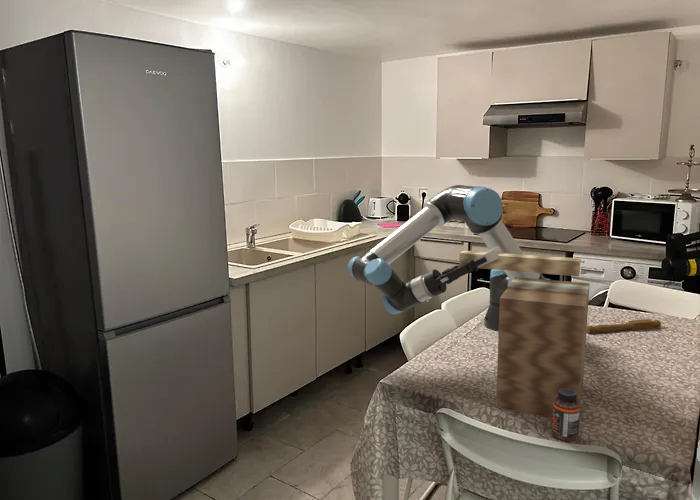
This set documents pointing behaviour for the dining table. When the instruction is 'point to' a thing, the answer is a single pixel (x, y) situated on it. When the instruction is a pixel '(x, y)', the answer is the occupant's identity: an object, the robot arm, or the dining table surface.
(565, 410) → the supplement bottle
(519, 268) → the beech bar
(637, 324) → the wooden spindle
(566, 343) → the brown wavy patterned box
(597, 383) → the dining table surface
